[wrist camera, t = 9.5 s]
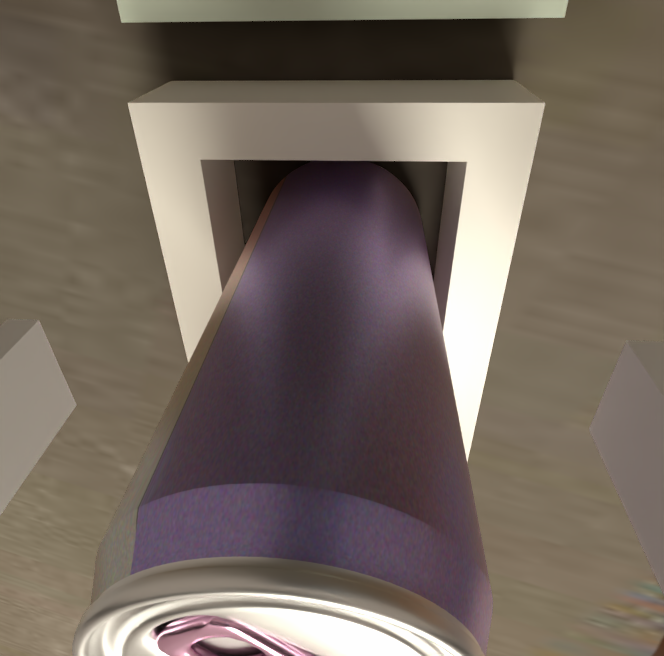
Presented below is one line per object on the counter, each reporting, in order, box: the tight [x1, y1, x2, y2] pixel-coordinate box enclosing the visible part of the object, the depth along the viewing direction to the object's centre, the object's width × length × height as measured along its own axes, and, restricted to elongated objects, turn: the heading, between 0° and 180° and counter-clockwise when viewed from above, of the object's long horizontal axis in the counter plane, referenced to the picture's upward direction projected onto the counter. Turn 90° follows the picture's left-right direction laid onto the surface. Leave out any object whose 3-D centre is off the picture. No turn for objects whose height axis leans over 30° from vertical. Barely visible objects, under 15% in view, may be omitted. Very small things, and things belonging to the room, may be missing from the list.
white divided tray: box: [128, 80, 545, 461], centre depth 20 cm, size 20×11×4 cm, turn 1°
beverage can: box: [72, 160, 493, 656], centre depth 13 cm, size 6×6×15 cm
